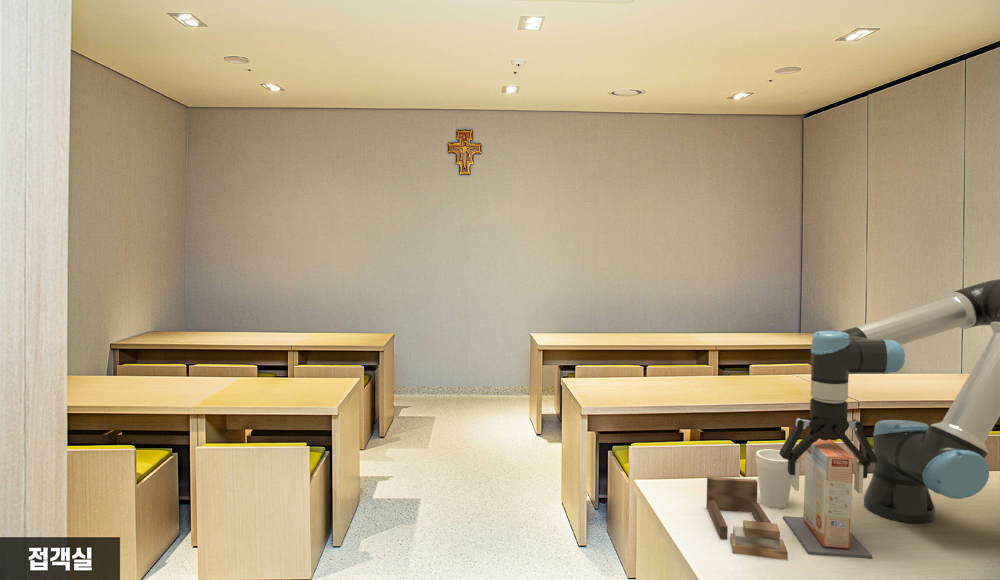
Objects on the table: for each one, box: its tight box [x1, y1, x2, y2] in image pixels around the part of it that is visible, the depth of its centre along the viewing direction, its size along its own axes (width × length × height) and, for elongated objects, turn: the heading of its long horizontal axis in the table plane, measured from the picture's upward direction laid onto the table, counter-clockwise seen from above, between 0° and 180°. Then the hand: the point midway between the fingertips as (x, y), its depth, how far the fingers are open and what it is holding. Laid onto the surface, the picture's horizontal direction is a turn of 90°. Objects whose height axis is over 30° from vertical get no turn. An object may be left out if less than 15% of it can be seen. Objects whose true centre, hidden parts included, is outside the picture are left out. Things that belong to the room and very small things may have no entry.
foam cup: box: [755, 448, 792, 510], centre depth 158 cm, size 10×9×13 cm
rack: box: [706, 476, 772, 540], centre depth 147 cm, size 12×18×8 cm
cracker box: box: [802, 438, 855, 549], centre depth 139 cm, size 14×6×21 cm, turn 170°
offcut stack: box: [729, 519, 789, 561], centre depth 134 cm, size 11×6×6 cm, turn 74°
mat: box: [782, 515, 874, 559], centre depth 140 cm, size 13×18×1 cm
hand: (826, 489), depth 139 cm, fingers open, 13 cm apart
